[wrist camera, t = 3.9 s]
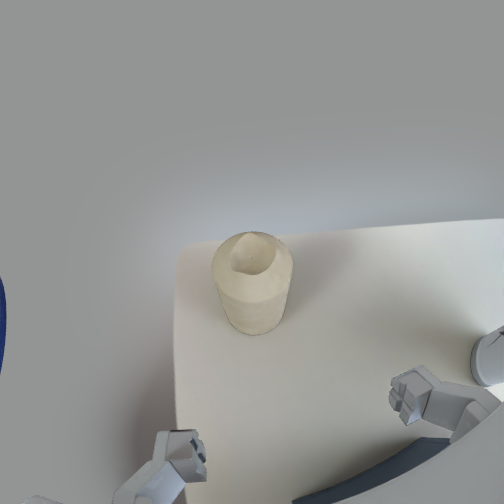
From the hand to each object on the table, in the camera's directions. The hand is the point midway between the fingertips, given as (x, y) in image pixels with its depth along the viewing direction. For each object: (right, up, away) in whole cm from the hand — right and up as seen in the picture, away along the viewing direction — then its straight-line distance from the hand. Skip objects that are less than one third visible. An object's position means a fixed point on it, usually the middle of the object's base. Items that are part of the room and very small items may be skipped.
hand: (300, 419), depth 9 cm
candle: (-2, +1, +17) cm, 17 cm away
